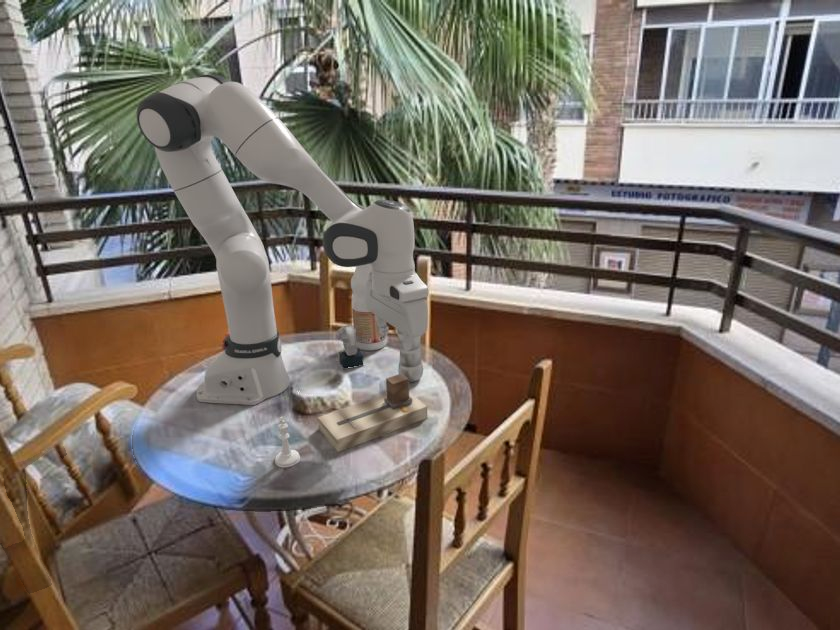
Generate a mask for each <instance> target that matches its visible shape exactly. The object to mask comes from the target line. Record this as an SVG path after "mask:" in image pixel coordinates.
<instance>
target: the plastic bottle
mask: <svg viewBox="0 0 840 630" xmlns="http://www.w3.org/2000/svg"><path fill="white" fill-rule="evenodd" d="M396 333H397V338H398V346H399V360H398V361H399V362H398V370H397V372H398V375H399V374H403V375H404V376H405V377H407V378H408V380H409V383H412V382H413V383H414V382H418V381H420V380H421V378H422V377H423V374H424V365H423V361H422V352H421V340H422V335H421V336H418V337H414V339H413V341H412V348H411V350H408V351H405V350H403V349H402V348H401V341H403V340H404V336H403V332H401V331H400V330H398V329H397V328H396Z"/></svg>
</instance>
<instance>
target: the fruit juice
mask: <svg viewBox="0 0 840 630" xmlns="http://www.w3.org/2000/svg"><path fill="white" fill-rule="evenodd" d="M371 271H372V265H371V264H366V265H361V266H355V270H354V273H353V275H352V277H351V279H350V287H351V290H352V296H351V311H352V323H353V325H352V326H354V327H355V329H356V334H355V336H356V343H357V349H359V350H361V351H368V352H369V351H377V350H380V349H383V348H384V347H385V346H386V345H387V342H388V337H387V335H388V334H387V335H384V336H383V335H381V334H380V333H379V327H378V324H377V322H376V319H375V314H373V313H372V312H370V311H369V310H367V308H366V305H365V289H366V282H367V281H368V280H369V274H370V273H371Z"/></svg>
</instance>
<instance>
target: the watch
mask: <svg viewBox="0 0 840 630" xmlns="http://www.w3.org/2000/svg"><path fill="white" fill-rule="evenodd" d="M355 334H356V329H355V327H354V326H353V325H351V324H350V325H349V324H347V325H344V326H341V327H340V328H339V329H338V330H337V333H336V336H337V337H338V338H339V340H340V341H341V342H342V345H343V349H344V351H340V352H339V351H338V357H339V358H338V359H339V364H340V366H341V365H342V366H341V368H342V367H343V368H348V367H353V368H355V367H354V366H359V365H363V366H364V358H363V356H364V355H363V354H362V352H361V351H360V350H361V349H359V348H357V343H356V336H355ZM359 367H360V366H359ZM343 368H342V369H343ZM348 369H349V368H348Z"/></svg>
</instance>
